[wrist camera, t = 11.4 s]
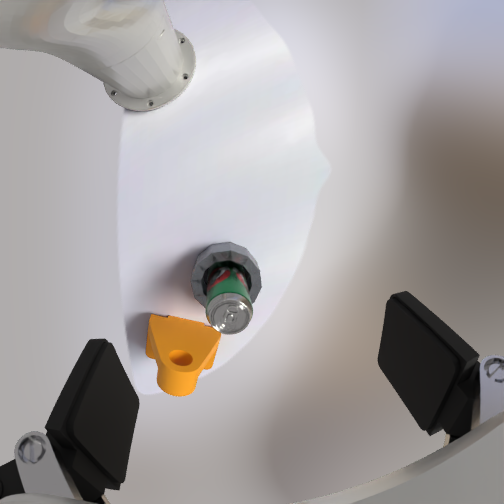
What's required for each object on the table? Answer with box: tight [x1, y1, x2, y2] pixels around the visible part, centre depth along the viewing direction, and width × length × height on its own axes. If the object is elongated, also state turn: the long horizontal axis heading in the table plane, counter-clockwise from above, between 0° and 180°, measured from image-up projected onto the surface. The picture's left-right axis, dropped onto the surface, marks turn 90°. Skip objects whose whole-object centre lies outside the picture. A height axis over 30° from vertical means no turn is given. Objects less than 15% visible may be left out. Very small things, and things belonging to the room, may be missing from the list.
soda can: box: [206, 260, 253, 334], centre depth 35 cm, size 5×5×12 cm
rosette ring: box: [191, 242, 262, 309], centre depth 39 cm, size 9×9×4 cm
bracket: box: [146, 314, 221, 396], centre depth 38 cm, size 11×7×12 cm, turn 74°
